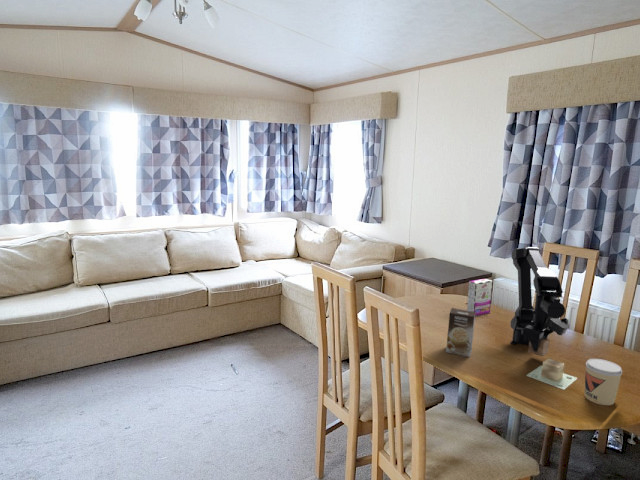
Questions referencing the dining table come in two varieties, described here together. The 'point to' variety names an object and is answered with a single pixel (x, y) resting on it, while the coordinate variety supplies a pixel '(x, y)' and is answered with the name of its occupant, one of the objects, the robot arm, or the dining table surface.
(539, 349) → the walnut block
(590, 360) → the cream tub with lid
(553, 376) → the oak block
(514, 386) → the dining table surface
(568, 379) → the board
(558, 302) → the robot arm
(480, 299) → the candy bar box
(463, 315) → the coffee box
